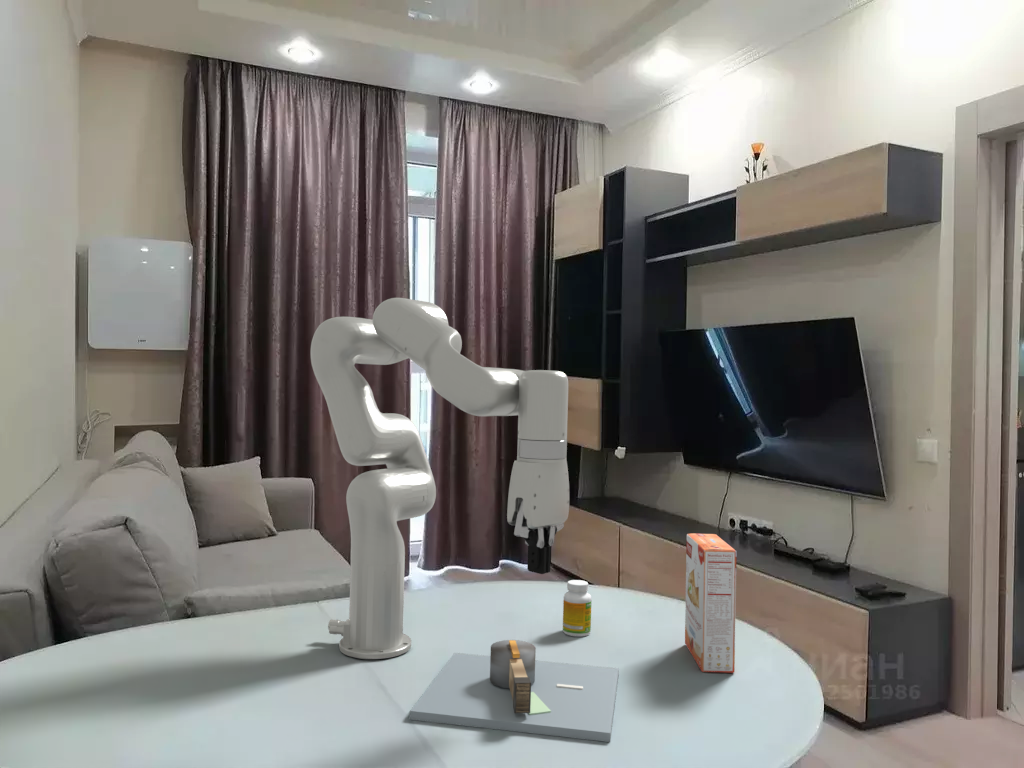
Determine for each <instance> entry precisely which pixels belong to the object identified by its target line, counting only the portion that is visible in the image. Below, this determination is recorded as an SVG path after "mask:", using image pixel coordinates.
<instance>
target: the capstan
mask: <svg viewBox="0 0 1024 768" xmlns="http://www.w3.org/2000/svg"><path fill="white" fill-rule="evenodd" d="M536 650H537V648H536V646H535V645H534V644H532V643H531V642H528V641H524V640H519V639H518V640H516V639H504V640H498V641H495V642H493V643H492V644H491V645H490V655H489V656H490V681H491V683H493V684H494V685H496V686H499V687H503V688H510V691H511V695H512V699H513V709H514V713H530V705H531V685H532V684H533V683H534V682H535V660H536V653H537V652H536Z"/></svg>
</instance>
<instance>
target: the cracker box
mask: <svg viewBox="0 0 1024 768" xmlns="http://www.w3.org/2000/svg"><path fill="white" fill-rule="evenodd" d="M685 548H686V549H685V551H686V552H685V553H686V554H685V556H686V559H685V567H686V568H685V569H686V570H685V617H684V620H685V621H684V622H685V623H684V644H685V646H686V648H687V649H688V651H689V652H690V654H691V656H692V658H693V659H694V661H695V662H696V665H697V666H698V668H699V669H700V672H702V673H722V674H723V673H725V674H726V673H729V674H730V673H732V674H734V673H735V668H736V667H735V661H736V660H735V658H736V656H735V655H736V607H737V606H736V605H737V604H736V603H737V601H736V599H737V562H738V561H737V559H738V558H737V557H738V555H737V550H735V548H734V547H733V546H731V545H730V544H728V543H727V542H726V541H725V540H723V539H722V538H721V537H720V536H718V535H717V533H716V534H715V533H698V532H697V533H694V532H693V533H687V534H686V547H685Z"/></svg>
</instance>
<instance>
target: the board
mask: <svg viewBox="0 0 1024 768" xmlns="http://www.w3.org/2000/svg"><path fill="white" fill-rule="evenodd" d="M619 673H620V668H619V667H610V666H599V665H590V664H589V665H588V664H578V663H567V662H558V661H549V660H548V661H547V660H537V659H535V682H534V683H533V684H532V685H531V705H530V713H514V709H513V699H512V695H511V691H510V688H503V687H499V686H496V685H494V684H493V683H491V681H490V655H484V654H472V653H463V652H462V653H461V652H453V654H452V655H451V657H449V659H448V660H447V662H446V663H445V664H444V665H443V666H442V668H441V669H440V671H438V673H437V675H436V676H435V678H433V680H432V681H431V682H430V684H429V685H428V686H427V688H426V689H425V690H424V692H423V693H422V694H421V696H419V699H418V700H417V701H416V702H415V703H414V705H413V706H412V707H411V709H410V710H409V720H412V721H420V722H430V723H439V724H447V725H458V726H466V727H473V728H474V727H475V728H482V729H493V730H500V731H501V730H502V731H509V732H516V733H517V732H519V733H527V734H536V735H546V736H552V737H553V736H554V737H561V738H570V739H571V738H573V739H579V740H580V739H581V740H588V741H589V740H590V741H598V742H606V743H611V739H612V731H613V723H614V715H615V707H616V701H615V700H616V699H617V693H616V692H617V691H618V683H619V676H620V674H619Z"/></svg>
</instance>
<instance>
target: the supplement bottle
mask: <svg viewBox="0 0 1024 768" xmlns="http://www.w3.org/2000/svg"><path fill="white" fill-rule="evenodd" d="M566 588H567V590H568V591H567V592H565V593H564V595H563V601H562V602H563V609H562V633H564V634H565V635H566V636H569V637H570V636H571V637H574V638H575V637H578V638H579V637H582V638H583V637H586V636H589V635H591V630H592V629H591V628H592V627H591V626H592V625H591V624H592V595H591V594H590V593H588V591H589V583H588V581H585V580H581V579H571V580H568V581H567V587H566Z"/></svg>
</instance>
